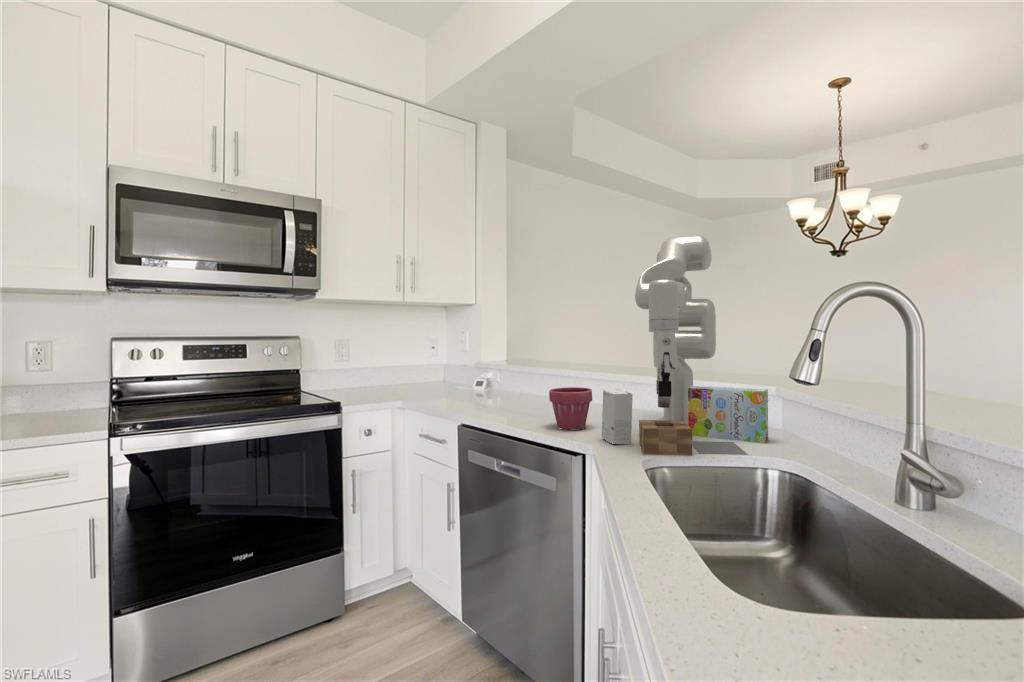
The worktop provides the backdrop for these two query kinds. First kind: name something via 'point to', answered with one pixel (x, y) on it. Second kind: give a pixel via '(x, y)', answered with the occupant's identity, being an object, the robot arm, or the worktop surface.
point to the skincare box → (617, 416)
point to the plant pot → (571, 406)
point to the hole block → (665, 437)
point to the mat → (717, 448)
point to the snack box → (728, 413)
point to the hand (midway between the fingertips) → (663, 395)
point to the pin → (663, 398)
